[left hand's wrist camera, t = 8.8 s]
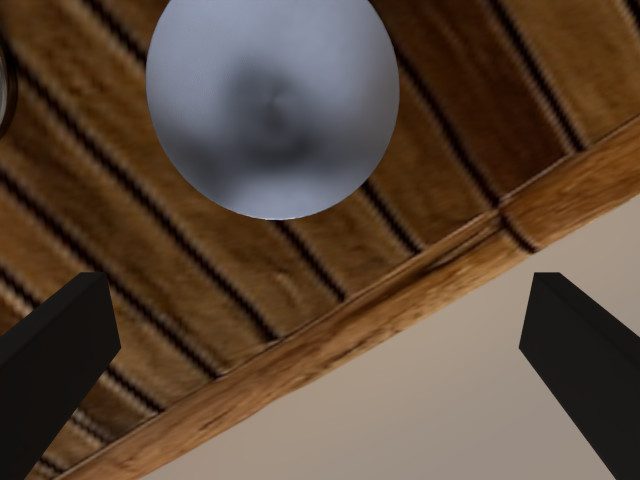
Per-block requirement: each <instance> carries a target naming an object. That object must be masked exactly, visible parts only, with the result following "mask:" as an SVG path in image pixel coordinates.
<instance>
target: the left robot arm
mask: <svg viewBox="0 0 640 480" xmlns="http://www.w3.org/2000/svg"><path fill="white" fill-rule="evenodd" d="M15 105H16V80H15V73H14V69H13V65H12V62H11V58H10V55H9V53H8V50H7V48H6V46H5V44H4V42H3V39H2V37H1V36H0V139H1V138H2V137H3V135H4V134H5V133H6V131H7V129H8V127H9V126H10V123H11V121H12V118H13V115H14V111H15ZM120 349H121V344H120V339H119V334H118V329H117V325H116V320H115V315H114V310H113V305H112V301H111V296H110V291H109V286H108V281H107V277H106V272H81V273H79V274H78V275H77V276H76V277H74V278H73V279H72V280H71V281H69V282H68V283H67V284H66V285H64V286H63V287H62V288H61V289H60V290H58V291H57V292H56V293H55V294H53V295H52V296H51V297H50V298H48V299H47V300H46V301H45V302H43V303H42V304H41V305H40V306H38V307H37V308H36V309H35V310H33V311H32V312H31V313H30V314H29V315H27V316H26V317H25V318H24V319H22V320H21V321H20V322H19V323H17V324H16V325H15V326H14V327H12V328H11V329H10V330H9V331H7V332H6V333H5V334H4V335H3V336H1V337H0V480H24V479H25V477H26V476H27V475H28V473H29V472H30V471H31V469H32V468H33V467H34V465H35V464H36V463H37V461H38V460H39V459H40V457H41V456H42V454H43V453H44V452H45V450H46V449H47V448H48V446H49V445H50V444H51V442H52V441H53V440H54V438H55V437H56V436H57V434H58V433H59V431H60V430H61V429H62V427H63V426H64V425H65V423H66V422H67V421H68V419H69V418H70V417H71V415H72V414H73V413H74V411H75V410H76V408H77V407H78V406H79V404H80V403H81V402H82V400H83V399H84V398H85V396H86V395H87V394H88V392H89V391H90V390H91V388H92V387H93V385H94V384H95V383H96V381H97V380H98V379H99V377H100V376H101V375H102V373H103V372H104V371H105V369H106V368H107V367H108V365H109V364H110V363H111V361H112V360H113V358H114V357H115V356H116V354H117V353H118V352H119V350H120ZM519 349H520V350H521V352H522V353H523V354H524V356H525V357H526V358H527V360H528V361H529V363H530V364H531V365H532V367H533V368H534V369H535V371H536V372H537V373H538V375H539V376H540V377H541V379H542V380H543V381H544V383H545V384H546V385H547V387H548V388H549V389H550V391H551V392H552V394H553V395H554V396H555V398H556V399H557V400H558V402H559V403H560V404H561V406H562V407H563V408H564V410H565V411H566V412H567V414H568V415H569V417H570V418H571V419H572V421H573V422H574V423H575V425H576V426H577V427H578V429H579V430H580V431H581V433H582V434H583V436H584V437H585V438H586V440H587V441H588V442H589V444H590V445H591V446H592V448H593V449H594V450H595V452H596V453H597V454H598V456H599V457H600V458H601V460H602V461H603V463H604V464H605V465H606V467H607V468H608V469H609V471H610V472H611V473H612V475H613V476H614V477H615V479H616V480H640V337H639V336H637V335H636V334H635V333H634V332H633V331H631V330H630V329H629V328H628V327H626V326H625V325H624V324H623V323H621V322H620V321H619V320H618V319H616V318H615V317H614V316H613V315H611V314H610V313H609V312H608V311H607V310H605V309H604V308H603V307H601V306H600V305H599V304H598V303H596V302H595V301H594V300H593V299H592V298H590V297H589V296H588V295H587V294H585V293H584V292H583V291H582V290H580V289H579V288H578V287H577V286H576V285H574V284H573V283H572V282H571V281H569V280H568V279H567V278H566V277H564V276H563V275H562V274H561V273H559V272H535V273H534V277H533V282H532V286H531V291H530V296H529V301H528V305H527V310H526V315H525V320H524V325H523V329H522V334H521V339H520V344H519Z"/></svg>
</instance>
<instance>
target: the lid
mask: <svg viewBox="0 0 640 480" xmlns="http://www.w3.org/2000/svg"><path fill="white" fill-rule="evenodd" d="M393 49H394V48H393V46H392V43H391V40H390V37H389V35H388V33H387V31H386V29H385V26H384V24H383V22H382V20H381V19H380V17H379V15H378V14H377V12H376V11H375V9H374V7H373V6H372V5H371V3H370V2H369V1H368V0H170V1H169V3H168V4H167V6H166V7H165V9H164V11H163V13H162V14H161V16H160V18H159V20H158V22H157V25H156V27H155V30H154V32H153V35H152V38H151V42H150V46H149V50H148V55H147V63H146V96H147V104H148V109H149V113H150V117H151V121H152V124H153V127H154V129H155V132H156V135H157V137H158V140H159V142H160V144H161V145H162V147H163V149H164V151H165V153H166V155H167V156H168V158H169V159H170V161H171V162H172V164H173V165H174V167H175V168H176V169H177V170H178V171H179V173H180V174H181V175H182V176H183V177H184V178H185V179H186V181H188V182H189V183H190V184H191V185H192V186H193V187H194V188H195V189H196V190H197V191H199V192H200V193H201V194H203V195H204V196H206V197H207V198H208V199H210V200H211V201H213V202H215V203H217V204H219V205H220V206H222V207H224V208H226V209H229V210H231V211H234V212H236V213H239V214H242V215H246V216H250V217H254V218H261V219H268V220H286V219H295V218H301V217H305V216H309V215H313V214H315V213H318V212H321V211H323V210H326V209H328V208H330V207H332V206H334V205H336V204H337V203H339V202H341V201H342V200H344V199H345V198H346V197H348V196H349V195H351V194H352V193H353V192H354V191H355V190H356V189H357V188H359V187H360V186H361V185H362V184H363V183H364V182H365V181H366V179H367V178H368V177H369V176H370V175H371V173H372V172H373V171H374V170H375V168H376V166H377V165H378V163H379V162H380V160H381V159H382V157H383V155H384V153H385V151H386V149H387V147H388V145H389V143H390V140H391V137H392V134H393V131H394V128H395V123H396V118H397V114H398V107H399V94H400V91H399V73H398V67H397V62H396V56H395V53H394V50H393Z"/></svg>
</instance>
